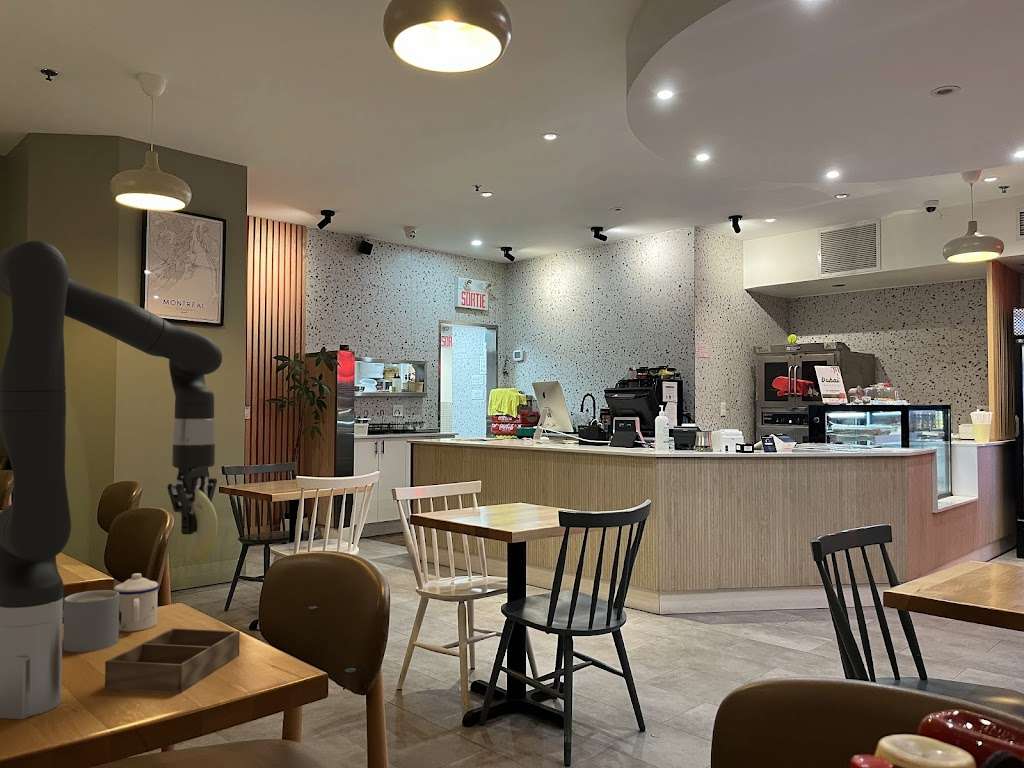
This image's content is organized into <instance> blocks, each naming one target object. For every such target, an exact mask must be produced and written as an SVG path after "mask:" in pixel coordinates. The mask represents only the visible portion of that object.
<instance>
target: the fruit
mask: <svg viewBox="0 0 1024 768" xmlns="http://www.w3.org/2000/svg"><path fill="white" fill-rule="evenodd" d="M167 494H168V495H169V492H168V493H167ZM192 495H193V493H192V494H191V495H189V494H186V498H191V497H192ZM169 496H170V495H169ZM196 496H197V497H196V501H195V502H194V503H193V505H194V511H195V512H194V514H195V516H196V519H197V532H195V533H196V534H195V538H194V541H193V543H192V545H191V547H190V550H189V553H188V555H187V560H186V561H187V562H186V563H187V565H189V566H194V565H196V564H199V563H201V562H203V561H205V560H206V559H207V557H208V556H209V554H210V553H211V552H212V549H213V547H214V546H215V543H216V539H217V536H218V535H217V534H218V515H217V513H216V509H215V507H214V505H213V503H212V502H210V500H209V499H208V497H207V496H206V495H205V494H204V493H203V492H202V491H201V490H199V491H198V493H197V495H196ZM189 504H190V503H189V502H188V505H189Z"/></svg>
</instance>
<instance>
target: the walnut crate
mask: <svg viewBox="0 0 1024 768" xmlns="http://www.w3.org/2000/svg"><path fill="white" fill-rule="evenodd" d="M240 634H241V633H240V631H238V630H236V631H235V630H215V629H199V628H198V629H196V628H195V629H194V628H170V629H168V630H166V631H164V632H162V633H160V634H158V635H156V636H154V637H152V638H150V639H148V640H146V641H144V642H142V643H139V644H138V645H136V646H134V647H132V648H130V649H128V650H126V651H124V652H122V653H119V654H118V655H116V656H113V657H112V658H110V659H107V660H106V661H105V662H104V663H105V665H104V669H105V670H104V690H115V691H116V690H117V691H134V692H136V691H137V692H152V693H153V692H155V693H173V694H182V693H184V692H185V691H187V690H188V689H190V688H191V687H193V686H194V685H196V684H198V683H200V682H201V681H203V680H204V679H206V678H207V677H209V676H210V675H212V674H213V673H215V672H217V671H218V670H220V669H221V668H223V667H224V666H225V665H227V664H229V663H230V662H232V661H234V660H235V659H237V658H238V657H239V656H240ZM233 659H234V660H233Z"/></svg>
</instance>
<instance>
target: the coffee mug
mask: <svg viewBox="0 0 1024 768" xmlns="http://www.w3.org/2000/svg"><path fill="white" fill-rule="evenodd" d="M119 632H120V631H119V592H117V591H113V590H112V589H111V590H110V589H108V590H107V589H105V590H88V591H81V592H76V593H73V594H70V595H67V596H66V597H64V598H63V631H62V650H63V651H65V652H69V653H86V652H87V653H88V652H89V653H90V652H94V651H95V652H96V651H100V650H105V649H108V648H111V647H113V646H116V645H117V644H118V643H119V635H120V634H119Z"/></svg>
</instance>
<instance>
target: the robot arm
mask: <svg viewBox="0 0 1024 768" xmlns="http://www.w3.org/2000/svg"><path fill="white" fill-rule="evenodd" d="M0 293H1V294H3V295H4V296H6V297H7V298H10V301H11V302H10V303H11V304H10V305H11V318H12V319H11V332H10V336H9V341H8V344H7V348H6V351H5V355H4V357H3V361H2V364H1V369H0V433H1V436H2V439H3V443H4V446H5V449H6V452H7V455H8V459H9V461H10V466H11V471H12V478H13V490H12V491H13V493H12V503H11V504H9V505H8V506H6V507H5V508H3V509H2V511H1V512H0V719H9V720H12V719H13V720H25V719H26V718H29V717H33V716H36V715H40V714H43V713H46V712H49V711H51V710H53V709H55V708H56V707H59V706H60V704H61V703H62V676H63V675H62V671H63V670H62V669H63V667H62V666H63V665H62V662H63V661H62V660H63V629H64V581H63V579H62V577H61V575H60V572H59V569H58V566H57V556H58V555H59V554H60V553H61V552H62V551H63V550H64V548H65V547H66V546H67V544H68V542H69V539H70V537H71V532H72V520H71V519H72V517H71V512H70V505H69V497H68V488H67V481H66V480H67V479H66V443H67V442H66V437H67V435H66V434H67V433H66V425H67V424H66V420H67V419H66V417H67V401H66V400H67V392H66V391H67V389H66V370H65V369H66V366H65V364H66V362H65V361H66V358H65V355H66V354H65V339H64V338H65V336H64V335H65V334H64V323H65V317H67V318H70V319H72V320H74V321H78V322H80V323H82V324H84V325H86V326H89V327H91V328H93V329H95V330H97V331H100V332H102V333H104V334H105V335H108V336H110V337H112V338H114V339H116V340H118V341H120V342H122V343H124V344H126V345H128V346H130V347H133V348H134V349H136V350H139V351H140V352H143V353H145V354H147V355H150V356H153V357H159V358H165V359H168V368H169V373H170V379H171V380H170V381H171V385H172V388H173V393H174V396H175V399H174V400H175V401H174V420H173V421H174V422H173V423H174V424H173V428H172V429H173V430H172V453H171V454H172V456H171V457H172V461H171V462H172V463H171V464H172V466H173V468H176V469H178V470H177V475H176V481H175V482H174V483H168V484H167V491H168V492H169V497H170V498H169V499H170V502H171V506H172V510H173V512H174V513H179V514H180V516H181V522H180V523H181V524H180V525H181V528H180V529H181V534H182V535H189V536H190V535H193V534H194V533H197V519H196V516H195V514H194V512H195V511H194V505H193V503H194V502H195V501H196V497H197V496H196V495H197V493H198V491H199V490H201V491H202V492H203V493H204V494H205V495H206V496H207V497H208V499H209V500H210V502H211V503H212V501H213V499H214V495H215V490H216V486H217V482H218V480H217V478H212V477H211V476H210V472H209V468H212V467H214V466H215V463H216V462H215V461H216V460H215V458H216V426H215V419H214V418H215V394H214V392H213V390H211V389H210V388H207V385H206V381H205V375H206V376H207V375H209V374H212V373H214V372H216V371H217V370H218V369H220V366H221V364H222V362H223V353H222V351H221V348H220V347H219V345H218V344H217V343H216V342H215V341H214V340H212V339H210V338H209V337H207V336H205V335H203V334H200V333H198V332H195V331H193V330H189V329H188V328H184V327H181V326H177V325H175V324H173V323H171V322H169V321H167V320H166V319H164V318H163V317H161V316H159V315H156V314H154V313H152V312H151V311H149V310H147V309H145V308H143V307H141V306H139V305H137V304H134V303H131V302H129V301H126V300H123V299H121V298H118V297H115V296H111V295H109V294H105V293H103V292H100V291H98V290H94V289H92V288H90V287H88V286H85V285H83V284H82V283H79V282H78V281H75V280H73V279H72V278H71V277H69V268H68V264H67V261H66V259H65V257H64V256H63V254H62V253H61V251H59V249H58V248H56V247H55V246H54V245H52V244H50V243H49V242H46V241H43V240H27V241H24V242H20V243H18V244H14V245H12V246H9V247H6V248H5V249H3V250H0ZM192 493H193V495H192V497H191V498H186V494H189V495H191V494H192ZM188 502H189V503H190V504H189V505H188Z"/></svg>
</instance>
